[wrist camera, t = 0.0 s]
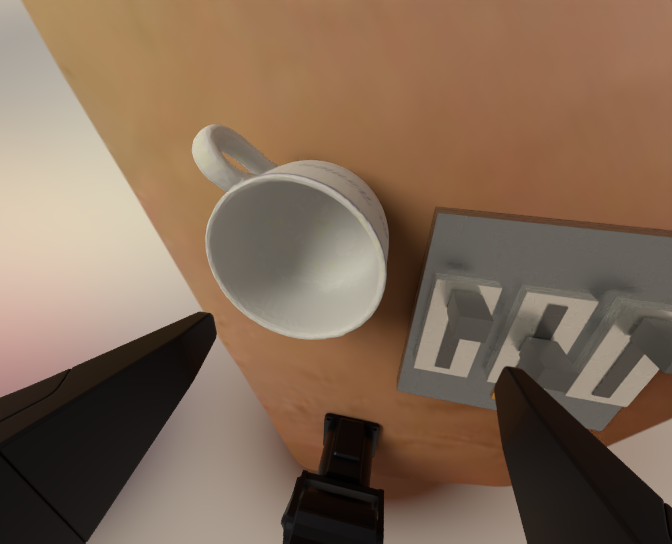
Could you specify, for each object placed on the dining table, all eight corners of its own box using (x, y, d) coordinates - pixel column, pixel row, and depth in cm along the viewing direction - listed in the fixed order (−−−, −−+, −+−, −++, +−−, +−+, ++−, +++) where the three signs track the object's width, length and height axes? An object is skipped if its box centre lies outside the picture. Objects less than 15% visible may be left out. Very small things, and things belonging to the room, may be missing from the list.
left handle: (474, 315, 21) (485, 343, 18) (446, 310, 21) (452, 337, 19) (482, 294, 20) (493, 321, 18) (452, 290, 20) (459, 316, 18)
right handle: (662, 343, 19) (702, 379, 17) (628, 338, 20) (663, 372, 17) (679, 322, 18) (725, 357, 16) (644, 317, 19) (683, 350, 16)
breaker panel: (591, 416, 27) (609, 443, 25) (396, 378, 29) (396, 400, 27) (733, 236, 18) (780, 254, 16) (435, 206, 20) (439, 218, 18)
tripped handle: (547, 359, 22) (566, 392, 19) (518, 354, 22) (534, 386, 19) (557, 341, 21) (579, 374, 18) (527, 336, 21) (545, 368, 18)
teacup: (410, 262, 23) (413, 325, 16) (296, 295, 27) (260, 358, 20) (340, 72, 18) (301, 48, 11) (212, 148, 22) (124, 164, 15)
